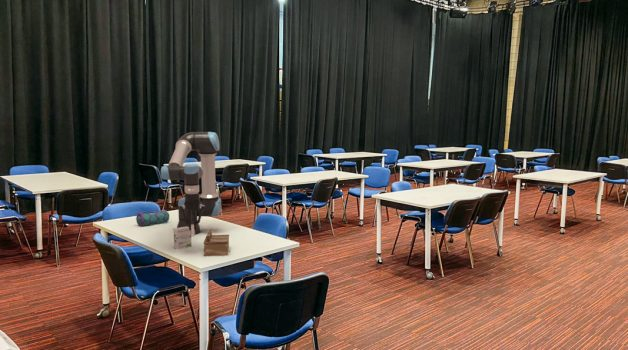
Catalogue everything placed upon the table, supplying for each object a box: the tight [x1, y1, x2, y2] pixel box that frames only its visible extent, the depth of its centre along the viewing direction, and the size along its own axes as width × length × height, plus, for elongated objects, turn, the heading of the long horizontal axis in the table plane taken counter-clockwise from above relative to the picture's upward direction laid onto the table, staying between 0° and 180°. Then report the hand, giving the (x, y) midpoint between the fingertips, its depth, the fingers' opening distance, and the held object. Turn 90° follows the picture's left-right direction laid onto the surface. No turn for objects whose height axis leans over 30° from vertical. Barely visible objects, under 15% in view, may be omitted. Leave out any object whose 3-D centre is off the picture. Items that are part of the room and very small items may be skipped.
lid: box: [203, 229, 230, 245], centre depth 259 cm, size 17×12×4 cm
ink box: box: [172, 227, 192, 250], centre depth 269 cm, size 9×5×12 cm, turn 131°
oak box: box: [203, 238, 230, 257], centre depth 260 cm, size 16×12×7 cm
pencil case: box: [135, 208, 170, 227], centre depth 330 cm, size 21×9×10 cm, turn 137°
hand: (193, 236), depth 258 cm, fingers closed
